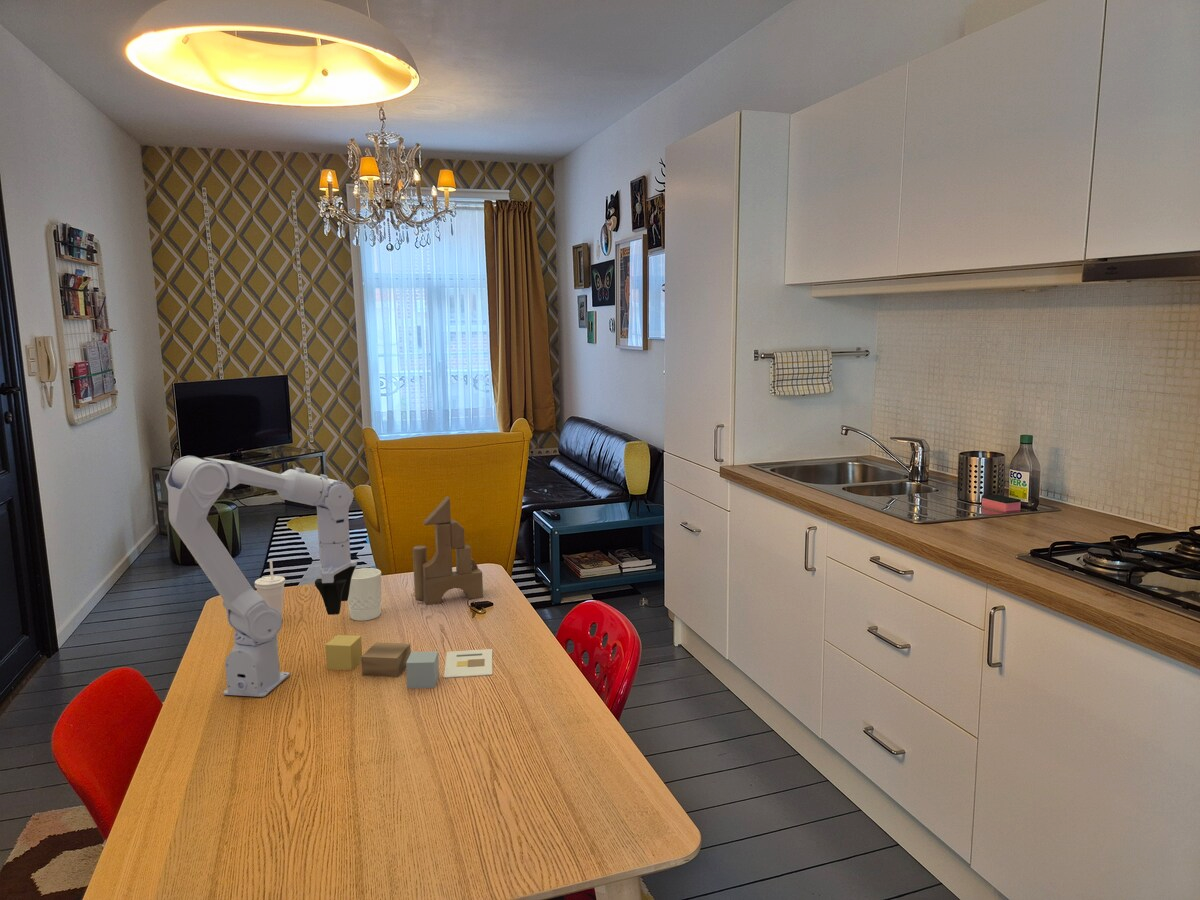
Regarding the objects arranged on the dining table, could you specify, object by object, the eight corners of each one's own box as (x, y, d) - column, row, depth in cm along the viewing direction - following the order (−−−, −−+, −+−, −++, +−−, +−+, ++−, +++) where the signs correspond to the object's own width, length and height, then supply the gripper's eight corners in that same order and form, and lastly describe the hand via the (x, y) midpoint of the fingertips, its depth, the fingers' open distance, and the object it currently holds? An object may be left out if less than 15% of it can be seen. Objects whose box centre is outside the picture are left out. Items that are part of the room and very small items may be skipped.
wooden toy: (476, 589, 204) (473, 490, 200) (483, 597, 198) (480, 496, 194) (413, 597, 198) (409, 496, 194) (418, 606, 192) (413, 501, 188)
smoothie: (281, 627, 180) (276, 565, 178) (252, 627, 180) (247, 565, 178) (292, 616, 186) (288, 556, 184) (264, 616, 186) (260, 556, 184)
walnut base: (397, 678, 154) (396, 658, 153) (362, 676, 155) (361, 656, 154) (411, 663, 161) (410, 643, 160) (377, 661, 162) (375, 642, 161)
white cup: (340, 620, 184) (337, 577, 182) (360, 608, 191) (357, 566, 190) (371, 623, 181) (368, 579, 180) (389, 611, 189) (387, 569, 187)
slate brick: (435, 688, 149) (433, 662, 149) (407, 689, 149) (406, 663, 148) (439, 676, 154) (438, 651, 154) (412, 677, 154) (411, 651, 153)
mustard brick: (351, 670, 157) (350, 645, 156) (326, 669, 158) (325, 644, 157) (362, 660, 162) (361, 636, 161) (338, 659, 163) (336, 634, 162)
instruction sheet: (492, 675, 154) (492, 673, 154) (443, 678, 153) (443, 676, 153) (492, 649, 166) (492, 648, 166) (447, 652, 165) (447, 651, 165)
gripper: (347, 549, 153) (351, 619, 155) (362, 530, 167) (365, 594, 169) (308, 550, 152) (313, 620, 155) (326, 531, 167) (330, 595, 169)
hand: (338, 607), depth 162 cm, fingers open, 7 cm apart
